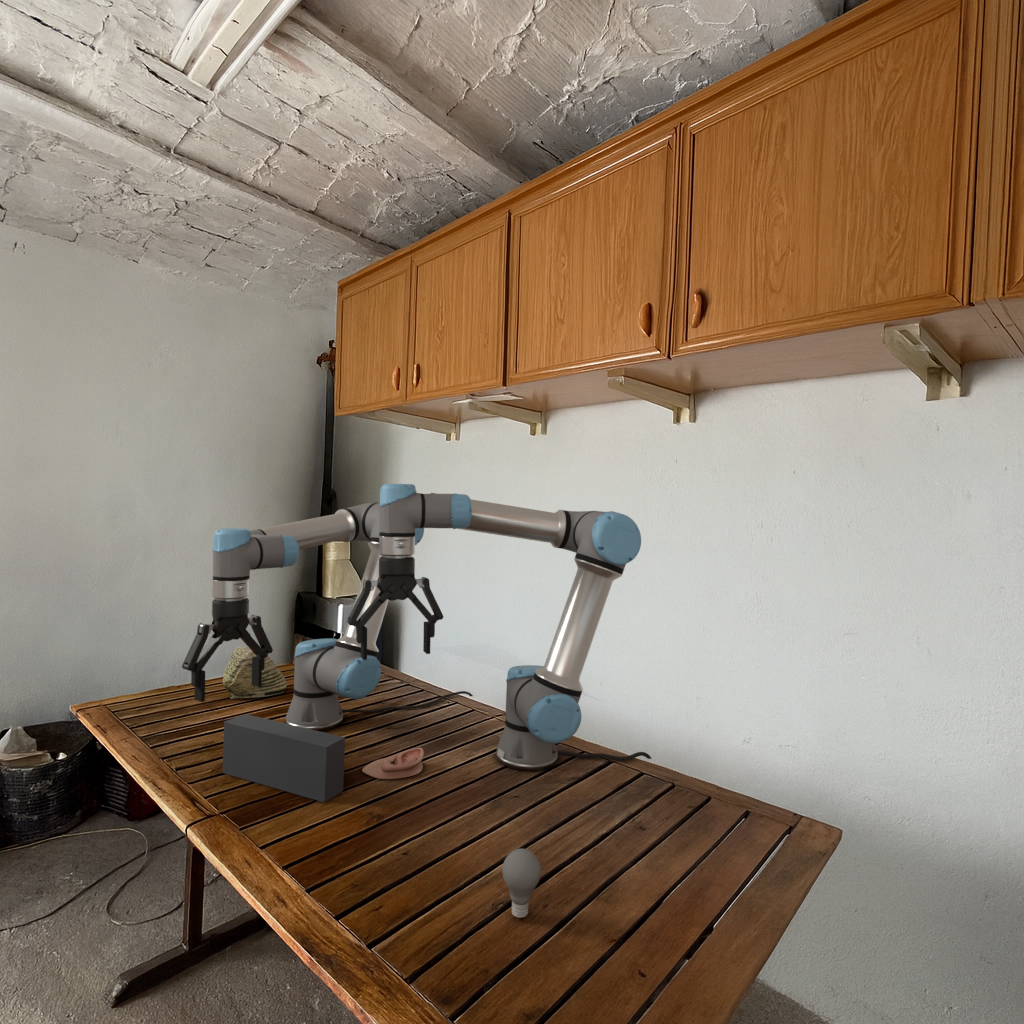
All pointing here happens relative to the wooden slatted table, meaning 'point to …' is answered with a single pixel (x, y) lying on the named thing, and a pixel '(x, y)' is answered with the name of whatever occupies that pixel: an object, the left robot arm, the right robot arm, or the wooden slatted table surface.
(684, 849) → the wooden slatted table surface
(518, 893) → the light bulb
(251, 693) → the fossil
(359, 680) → the left robot arm
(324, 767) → the box
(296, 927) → the wooden slatted table surface
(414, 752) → the anatomical model
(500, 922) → the wooden slatted table surface
